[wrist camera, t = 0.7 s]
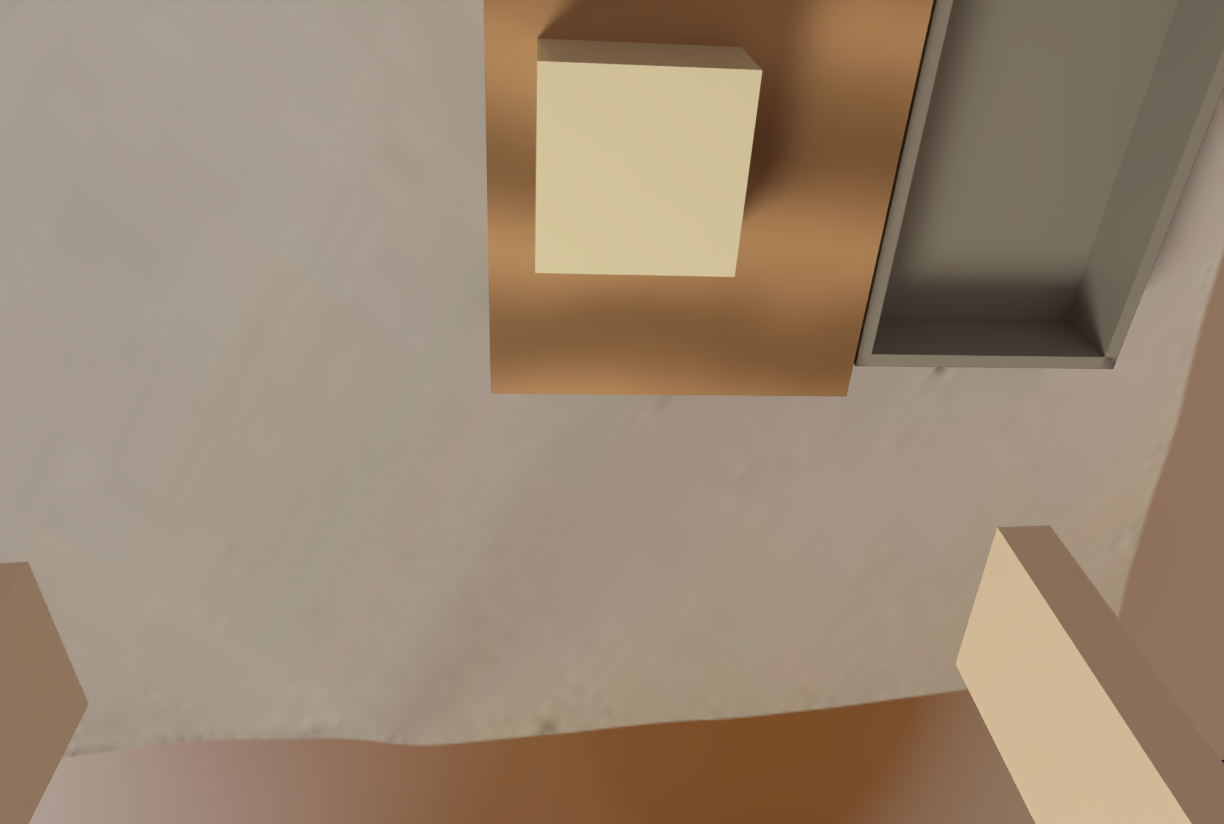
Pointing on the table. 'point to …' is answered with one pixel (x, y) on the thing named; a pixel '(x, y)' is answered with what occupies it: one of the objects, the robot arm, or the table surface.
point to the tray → (1038, 179)
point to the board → (772, 218)
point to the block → (642, 157)
